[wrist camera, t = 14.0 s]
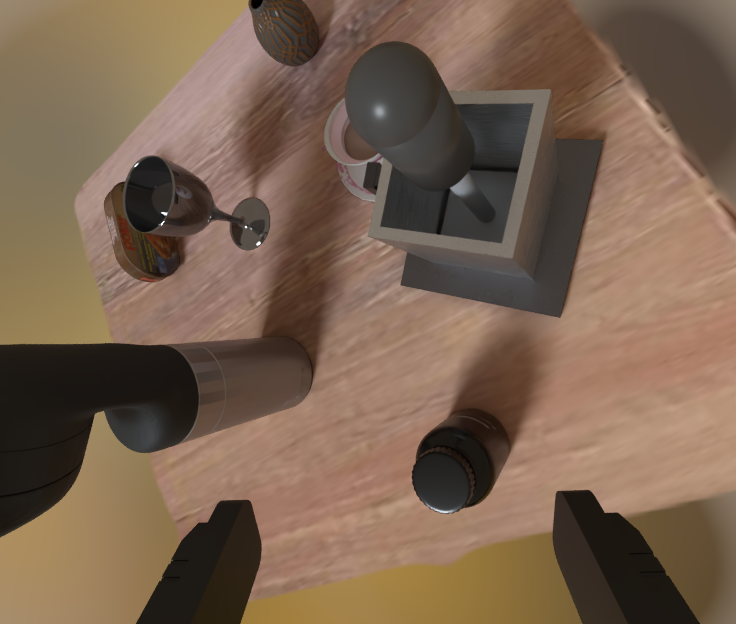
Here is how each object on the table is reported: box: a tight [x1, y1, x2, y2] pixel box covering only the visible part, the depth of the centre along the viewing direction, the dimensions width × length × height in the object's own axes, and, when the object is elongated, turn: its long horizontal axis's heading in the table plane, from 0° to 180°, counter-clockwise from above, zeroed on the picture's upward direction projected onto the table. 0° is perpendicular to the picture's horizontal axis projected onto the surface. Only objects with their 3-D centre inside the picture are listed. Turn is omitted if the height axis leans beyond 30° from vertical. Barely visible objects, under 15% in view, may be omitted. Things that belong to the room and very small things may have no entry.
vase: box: [249, 0, 319, 66], centre depth 48 cm, size 7×7×9 cm
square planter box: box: [363, 89, 603, 318], centre depth 34 cm, size 16×16×16 cm
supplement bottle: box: [412, 409, 509, 514], centre depth 36 cm, size 7×7×12 cm
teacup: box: [322, 97, 384, 202], centre depth 44 cm, size 12×12×6 cm
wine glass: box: [123, 156, 270, 250], centre depth 49 cm, size 8×8×15 cm
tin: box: [104, 182, 180, 282], centre depth 59 cm, size 15×3×8 cm, turn 20°
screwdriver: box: [345, 41, 518, 243], centre depth 27 cm, size 8×8×25 cm
